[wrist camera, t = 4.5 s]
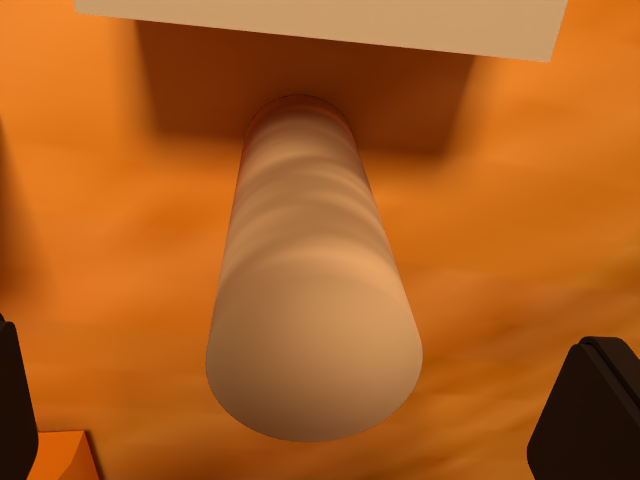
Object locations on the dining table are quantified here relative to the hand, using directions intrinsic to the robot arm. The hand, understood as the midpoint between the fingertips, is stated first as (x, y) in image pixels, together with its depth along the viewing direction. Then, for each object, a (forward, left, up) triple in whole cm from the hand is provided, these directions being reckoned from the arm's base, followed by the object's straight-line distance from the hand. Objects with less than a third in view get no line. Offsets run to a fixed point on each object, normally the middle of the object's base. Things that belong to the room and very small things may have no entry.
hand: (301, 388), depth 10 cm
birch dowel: (0, +1, -13) cm, 13 cm away
